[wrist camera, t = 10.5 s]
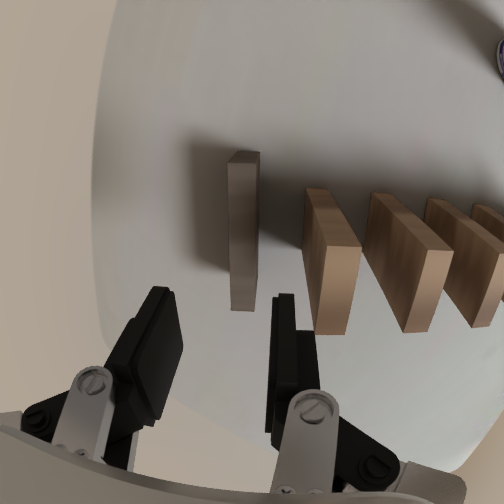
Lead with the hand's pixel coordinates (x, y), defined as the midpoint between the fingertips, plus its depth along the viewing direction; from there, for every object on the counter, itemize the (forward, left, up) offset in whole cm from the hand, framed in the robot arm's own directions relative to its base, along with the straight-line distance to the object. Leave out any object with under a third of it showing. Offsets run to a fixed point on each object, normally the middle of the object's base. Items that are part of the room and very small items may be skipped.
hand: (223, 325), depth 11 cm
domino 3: (+1, +10, -13) cm, 17 cm away
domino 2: (+1, +5, -13) cm, 14 cm away
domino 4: (+1, +15, -13) cm, 20 cm away
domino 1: (-4, 0, -11) cm, 12 cm away
